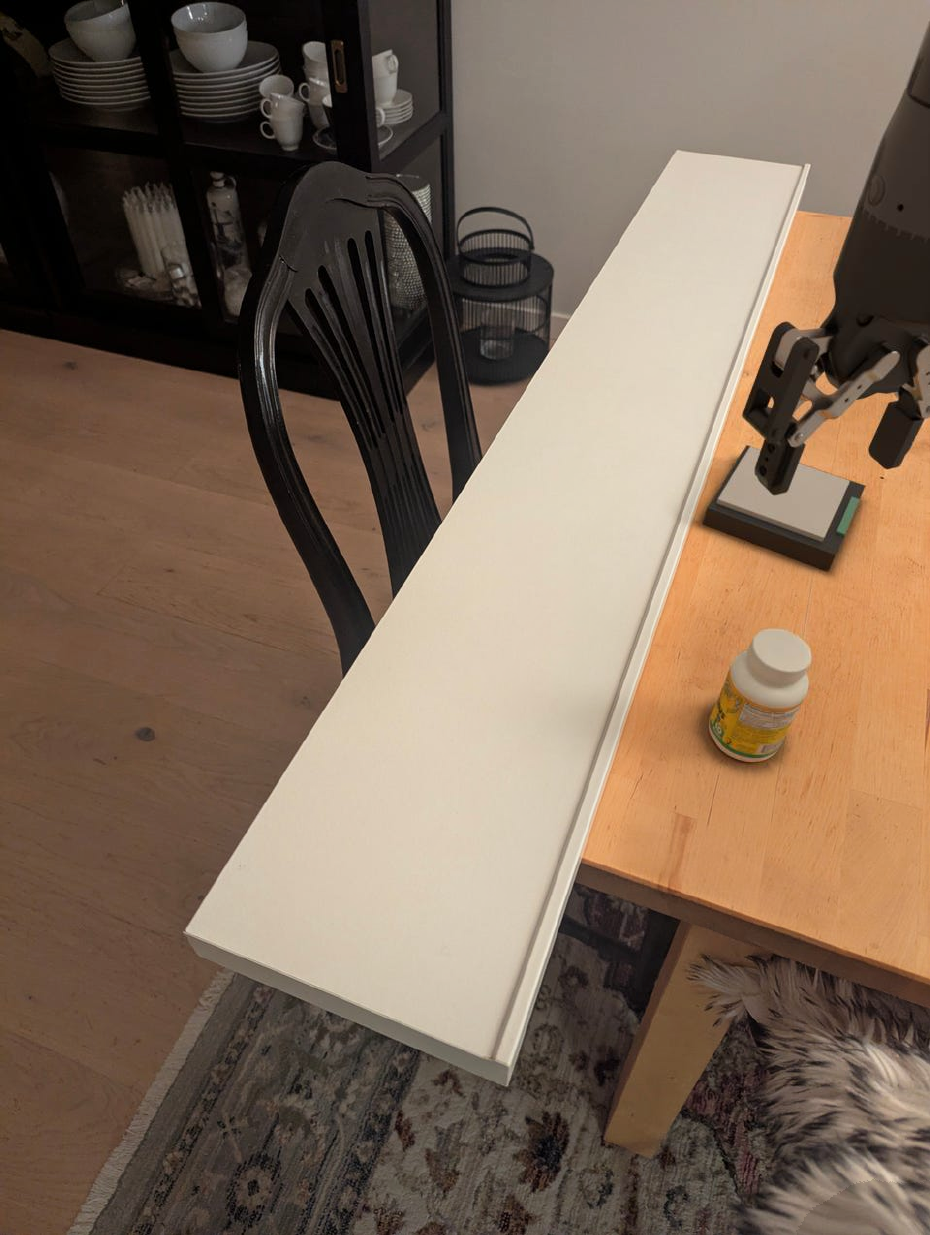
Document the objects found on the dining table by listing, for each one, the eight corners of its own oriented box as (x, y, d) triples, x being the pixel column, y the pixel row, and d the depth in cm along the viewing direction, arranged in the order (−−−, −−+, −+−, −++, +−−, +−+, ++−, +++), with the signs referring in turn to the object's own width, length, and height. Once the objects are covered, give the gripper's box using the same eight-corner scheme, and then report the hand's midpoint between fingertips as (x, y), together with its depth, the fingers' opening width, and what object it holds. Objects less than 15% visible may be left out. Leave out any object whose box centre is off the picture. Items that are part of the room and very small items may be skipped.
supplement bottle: (773, 774, 64) (818, 690, 57) (700, 749, 65) (735, 665, 58) (783, 719, 68) (826, 634, 61) (714, 697, 69) (748, 611, 62)
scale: (858, 501, 87) (868, 480, 85) (828, 571, 80) (838, 550, 78) (741, 460, 91) (748, 439, 89) (702, 524, 83) (708, 502, 82)
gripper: (876, 254, 39) (767, 535, 50) (1110, 219, 43) (959, 487, 54) (775, 189, 43) (697, 460, 55) (994, 164, 47) (878, 421, 59)
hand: (827, 473), depth 55 cm, fingers open, 8 cm apart
